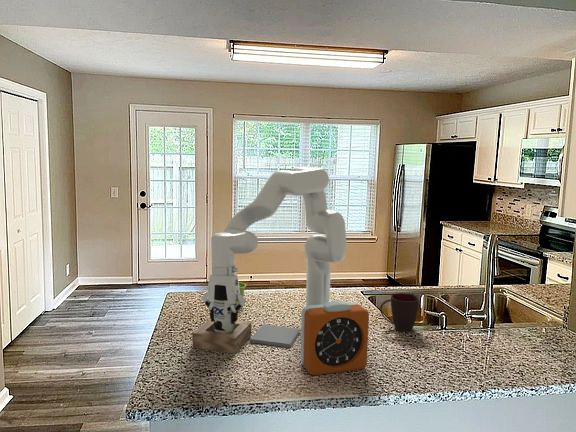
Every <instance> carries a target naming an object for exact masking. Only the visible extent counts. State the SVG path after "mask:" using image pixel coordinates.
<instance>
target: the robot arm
mask: <svg viewBox="0 0 576 432" xmlns="http://www.w3.org/2000/svg"><path fill="white" fill-rule="evenodd" d="M329 181H330V178H329V174H328V172H327V171H326V170H325V169H323V168H321V167H307V166H305V167H304V166H298V167H297V166H296V167H293V168H291V169H290V170H277V171H275V172H273V173H272V174H271V175H270V176H269V177H268V180H267V181H266V183H265V184H264V185H263V186H262V188H261V190H260V192H259V193H258V194H257V196H256V197H255V199H254V200H252V202H250V203H249V204H248V205H246V206H245V207H244V208H242V209H241V210H239V211H238V212H237V213H235V215H234V216H232V218H231V219H230V220H229V222H228V224H227V225H226V227H225V228H224V230H223V232H216V233H213V234H212V235H211V237H210V245H211V246H210V251H211V255H210V257H211V260H210V261H211V273H209V279H208V283H207V284H208V285H207V292H205V293H204V294H203V295H202V296H201V297H200V299H201V300H202V301H203V303H204V304H205V306H206V307H207V308H208V310H209V319H210V318H211V322H213V321H214V289H215V285H223V286H226V292H227V299H228V304H229V305H230V307H231V309H232V313H231V323H232V324H234V323H235V322H236V321H237V320H239V317H238V316H239V315H238V314H239V313H238V312H239V310H240V309H241V308H242V307H243V306H244V305H245V304H246V303H247V299H245V297H244V296H243V297H242V296H241V295H240V289H239V281H240V280H239V277H238V276H239V275H238V273H237V272H239V267H236V264H235V255H236V254H237V255H238V254H245V255H246V254H251V253H253V252H254V251H255V250H256V249H257V247H258V244H259V239H258V237H257V236H256V234H255V233H253V232H252V231H249V230H248V228H249V227H251V226H252V225H254V224H255V223H257V222H259V221H262V220H265V219H268V218H270V217H273V216H274V215H275V213H276V212H277V211H278V209H279V207H280V206H281V204H282V202H283V201H284V199H285V198H286V197H287V196H295V197H300V196H302V198H303V201H304V210H305V221H306V227H307V229H308V230H309V231H310V232H313V233H316V234H313V235H310V236H309V237H308V238H307V239H306V240H305V244H304V252H305V253H304V254H305V260H306V281H305V282H306V284H305V285H306V288H305V290H306V291H305V292H306V293H305V294H306V295H305V305H304V306H303V307H305V306H310V305H322V304H326V303H328V302H331V301H332V300H331V299H330V298H331V295H330V294H331V266H330V263H332V264H339V263H341V262H343V260H345V257H346V254H347V233H346V222H345V218H344V216H343V215H342V213H340V212H338V211H335V210H333V209H332V210H331V209H328V203H327V202H328V201H327V196H326V192H325V190H326V188H327V187H328V185H329ZM247 230H248V231H247ZM236 301H240V304H239V305H237V303H236ZM303 307H302V309H303ZM302 309H301V310H302Z"/></svg>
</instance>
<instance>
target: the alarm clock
mask: <svg viewBox="0 0 576 432" xmlns="http://www.w3.org/2000/svg"><path fill="white" fill-rule="evenodd" d="M304 306H305V307H304ZM304 306H303V307H302V308H303V309H301V328H300V331H301V332H300V333H301V335H300V339H301V340H300V362H301V363H302V365H303V367H304V368H305V369H306V371H307V372H308V373H309V375H311V376H318V375H327V374H328V375H329V374H334V373H341V372H349V371H350V372H351V371H359V370H363V369H366V367H367V365H368V346H369V345H368V344H369V328H370V327H369V323H370V314H369V311H368V310H367V309H366V308H365V307H363V306H362V305H360V304H359V303H358V302H356V301H348V302H347V301H344V300H331V302H328V303H326V304H322V305H310V306H306V305H304Z"/></svg>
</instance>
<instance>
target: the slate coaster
mask: <svg viewBox="0 0 576 432" xmlns="http://www.w3.org/2000/svg"><path fill="white" fill-rule="evenodd" d="M300 331H301V328H298V327H290V326H282V325H281V326H280V325H274V324H273V325H271V324H264V323H262V324H261V326H260V327H259V328H258V329H257V331H256V332H255V333H254V334H253V335H251V337H250V338H249V343H251V344H252V343H253V344H261V345H269V346H274V347H275V346H276V347H283V348H285V347H286V348H291V347H292V345H293V344H294V342H295V340H296V339H297V337H298V335H299V334H300V333H301V332H300Z"/></svg>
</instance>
